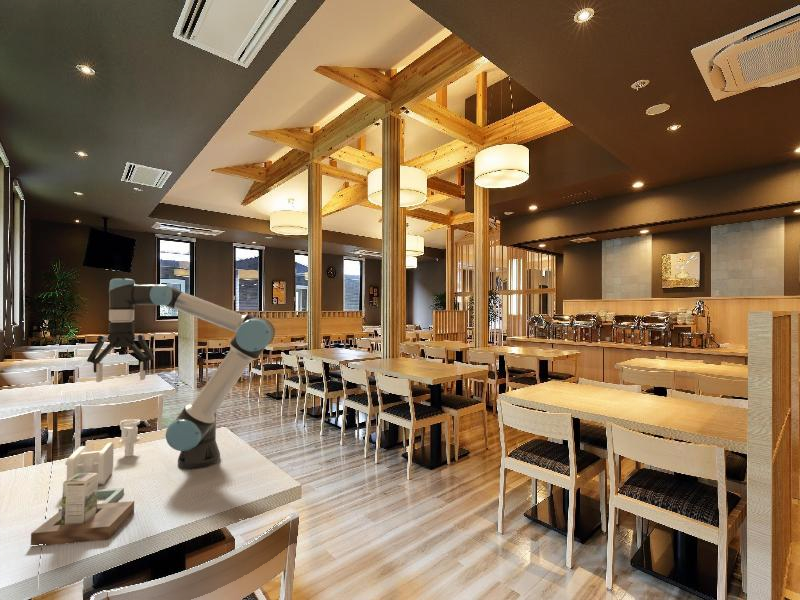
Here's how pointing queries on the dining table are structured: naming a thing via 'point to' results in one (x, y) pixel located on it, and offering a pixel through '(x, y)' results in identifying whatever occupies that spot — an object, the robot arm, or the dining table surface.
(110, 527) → the socket board
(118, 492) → the green square frame
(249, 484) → the dining table surface
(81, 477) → the syrup box
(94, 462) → the cable organizer
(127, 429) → the white upright piece
